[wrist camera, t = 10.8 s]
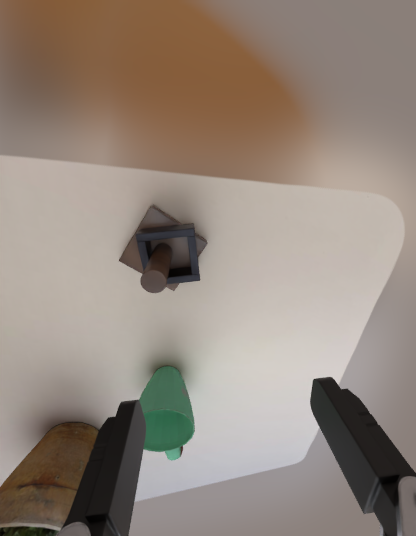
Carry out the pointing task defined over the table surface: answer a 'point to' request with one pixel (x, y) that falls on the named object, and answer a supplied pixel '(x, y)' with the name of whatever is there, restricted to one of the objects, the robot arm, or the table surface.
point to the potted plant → (46, 482)
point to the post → (160, 253)
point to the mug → (167, 413)
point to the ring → (166, 233)
